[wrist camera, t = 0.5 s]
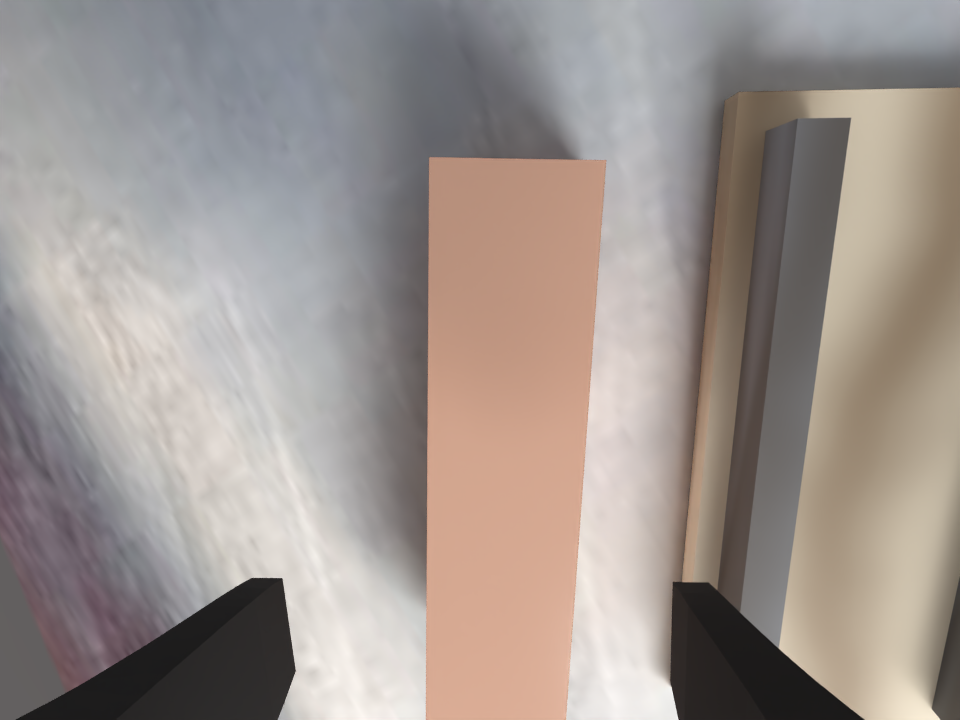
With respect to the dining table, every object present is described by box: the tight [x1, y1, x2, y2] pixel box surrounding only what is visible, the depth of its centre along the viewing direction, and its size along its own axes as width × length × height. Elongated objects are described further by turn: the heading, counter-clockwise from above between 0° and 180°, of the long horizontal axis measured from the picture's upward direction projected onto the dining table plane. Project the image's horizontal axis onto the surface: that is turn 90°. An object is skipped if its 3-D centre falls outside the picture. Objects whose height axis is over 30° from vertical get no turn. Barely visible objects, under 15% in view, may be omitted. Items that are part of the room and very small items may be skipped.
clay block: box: [426, 157, 606, 720], centre depth 17 cm, size 4×16×5 cm, turn 178°
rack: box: [682, 88, 960, 720], centre depth 17 cm, size 10×20×3 cm, turn 0°
